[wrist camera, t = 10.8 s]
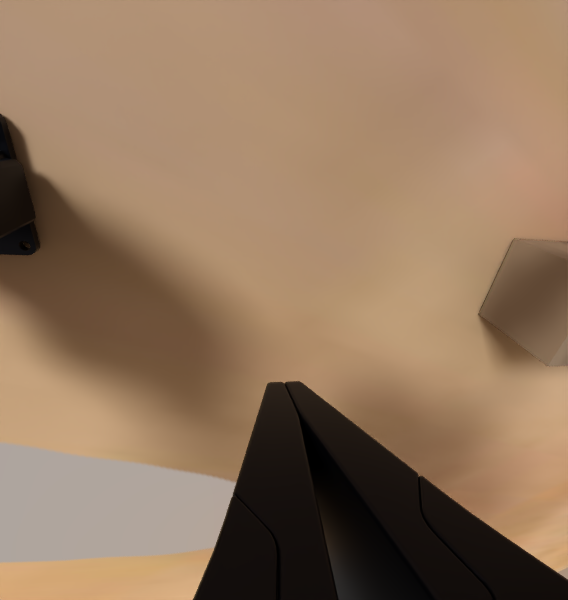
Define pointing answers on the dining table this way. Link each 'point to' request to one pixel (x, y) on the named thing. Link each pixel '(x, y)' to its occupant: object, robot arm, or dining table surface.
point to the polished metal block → (533, 299)
